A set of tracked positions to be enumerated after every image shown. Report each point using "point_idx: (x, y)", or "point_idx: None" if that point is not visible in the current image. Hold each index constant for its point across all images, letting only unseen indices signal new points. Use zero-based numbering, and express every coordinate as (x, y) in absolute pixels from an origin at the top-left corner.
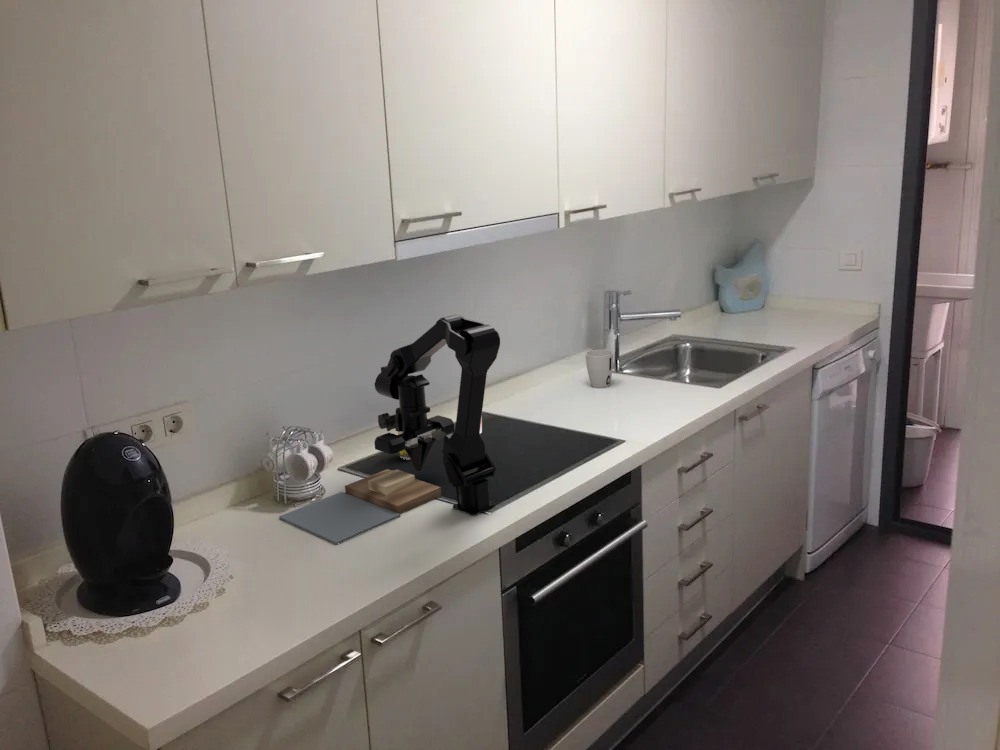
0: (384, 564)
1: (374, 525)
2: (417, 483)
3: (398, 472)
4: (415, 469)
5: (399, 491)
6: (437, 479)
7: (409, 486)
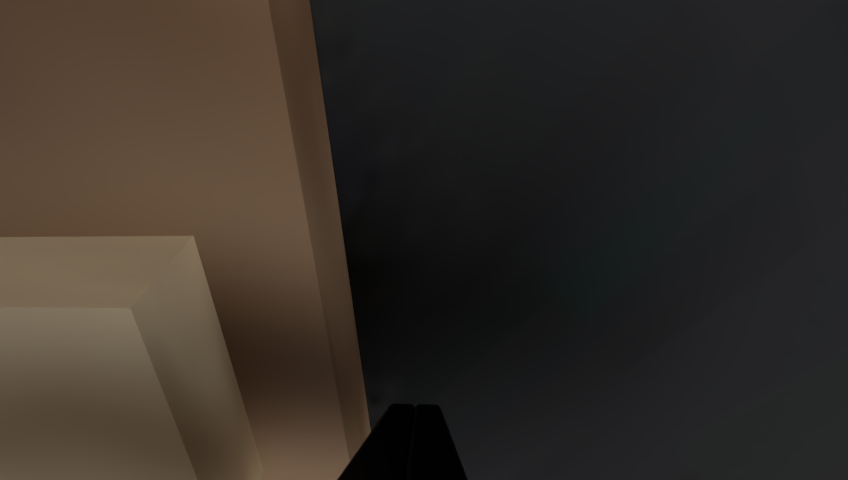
0: None
1: None
2: (284, 476)
3: (106, 399)
4: (387, 409)
5: None
6: (616, 352)
7: None
